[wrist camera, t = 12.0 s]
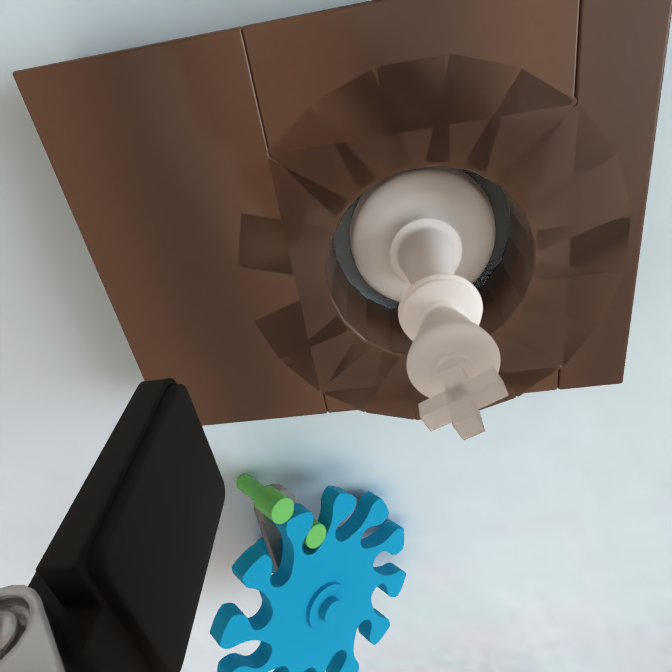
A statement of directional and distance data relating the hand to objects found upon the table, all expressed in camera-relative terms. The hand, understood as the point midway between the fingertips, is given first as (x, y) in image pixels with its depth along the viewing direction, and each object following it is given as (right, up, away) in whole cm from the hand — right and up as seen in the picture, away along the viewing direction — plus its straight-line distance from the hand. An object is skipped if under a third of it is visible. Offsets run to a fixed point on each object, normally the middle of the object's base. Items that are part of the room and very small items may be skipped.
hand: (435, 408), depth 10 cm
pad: (-1, +6, +8) cm, 10 cm away
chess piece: (+1, +5, +9) cm, 10 cm away
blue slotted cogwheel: (-3, -8, +16) cm, 18 cm away
